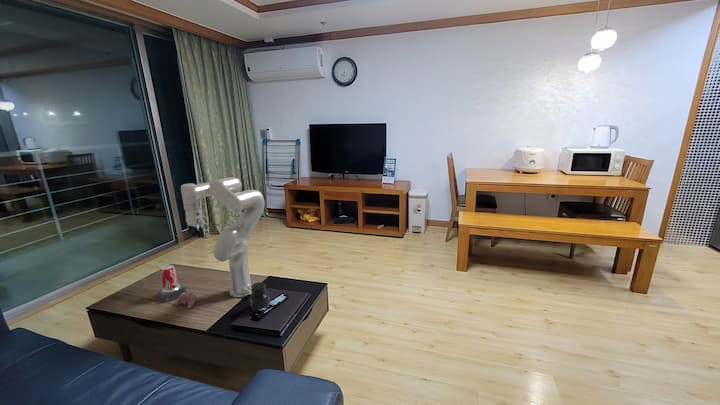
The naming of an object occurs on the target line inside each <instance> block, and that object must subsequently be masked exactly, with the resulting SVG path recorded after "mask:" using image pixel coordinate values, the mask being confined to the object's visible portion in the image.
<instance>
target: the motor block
mask: <svg viewBox="0 0 720 405" xmlns="http://www.w3.org/2000/svg"><path fill="white" fill-rule="evenodd" d="M156 292H157V297H158V298H160V299H161V300H163V301H164V302H166V303H169V302H171V301H173V300H175V299H178V297H179V296H180V295H181V293H187V292H188V291H187V288H186V286H185V285H183V284H181V283H179V282H178V286H177V287H176V288H174V289H171V290H166V289H164V288H163V285H162V286H161V287H160V288H158V289H157V290H156Z"/></svg>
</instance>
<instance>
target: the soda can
mask: <svg viewBox="0 0 720 405" xmlns="http://www.w3.org/2000/svg"><path fill="white" fill-rule="evenodd" d="M159 273H160V274H159V275H160V280H161V284H162V286H163V288H164V289H166V290H171V289H174V288H176V287H177V286H178V283H179V279H178V274H177V270H176V267H175V266H174V265H173V264H166V265H163V266H161V267H160V271H159Z"/></svg>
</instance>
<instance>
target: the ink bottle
mask: <svg viewBox="0 0 720 405" xmlns="http://www.w3.org/2000/svg"><path fill="white" fill-rule="evenodd" d="M251 291H252V293H251V294H250V296H249V299H250V309H251V311H253V310H254V311H253V312H255V311H257V310H259V309H262V308H264V307H266V306H267V305H268V304H269V303H270V304H271V300H270V293H269V292H268V291H267V284H266V283H265V282H261V281H259V282H256V283H253V284H252V286H251Z"/></svg>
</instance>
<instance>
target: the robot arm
mask: <svg viewBox="0 0 720 405" xmlns="http://www.w3.org/2000/svg"><path fill="white" fill-rule="evenodd" d="M242 187H243V184H242V181H241V180H240V179H239V178H237V177H233V176H228V177H224V178H220V179H213V180H211V181H208V182H203V183H198V184H195V183H193V182H192V183H190V182H189V183H184V184H182V185H181V186H180V190H181V191H180V192H181V197H182V202H183V203H182V204H183V210H184V212H185V222H186V224H187V230H188V234H189V235H193V234H195V233H196V232H197V238H198V239H199V238H203V237H205V232H204V229H205V227H204V224H205V223H204V217H203V213H202V211H201V207H200V201H199V200H200V199H204V198H207V197H210V196H211V197H212V196H213V197H215V199H217V200H218V201H219V202H220V203H221V204H222V205H223V206H225V207H226V209H228V210H230V211H231V212H234V213H235V212H241V211H243V212H242V213H241V214H240V217H239V219H238V221H237V222H236V223H235V224H234V223H233V225H230V226H227V227H226V228H223V229H222V230H221V232H220V233H219V236H218V237H217V240H216V241H215V245H214V246H213V255H214V258H215V259H216V260H217V261H219V262H226V261H228V267H229V273H230V281H231V289H230V290H229V295H230V296H231V297H233V298H243V297H246V296H249V295H252V291H251V286H252V285H253V284H252V282H251V274H250V266H249V265H250V264H249V255H248V253H249V252H248V251H249V241H248V240H249V239H250V238H251V237H252V234H253V232H254V230H255V228H256V226H257V225H258V224H257V223H258V222H259V221H260V218H261V217H262V216H263V213H264V211H265V208H266V207H265V204H266V202H265V198H264V194H262V192H261V191H259V190H257V189H247V190H243V191H241V189H242ZM195 228H196V229H197V230H195Z"/></svg>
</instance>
